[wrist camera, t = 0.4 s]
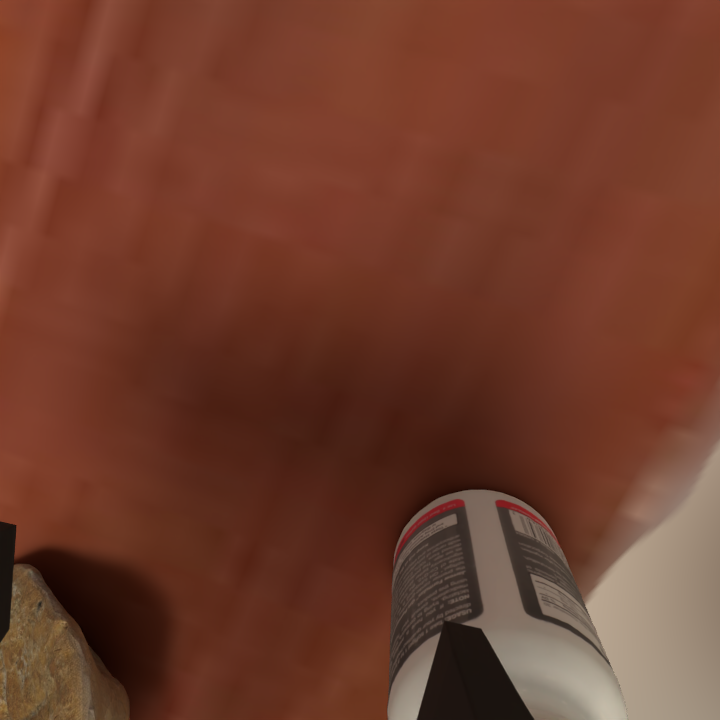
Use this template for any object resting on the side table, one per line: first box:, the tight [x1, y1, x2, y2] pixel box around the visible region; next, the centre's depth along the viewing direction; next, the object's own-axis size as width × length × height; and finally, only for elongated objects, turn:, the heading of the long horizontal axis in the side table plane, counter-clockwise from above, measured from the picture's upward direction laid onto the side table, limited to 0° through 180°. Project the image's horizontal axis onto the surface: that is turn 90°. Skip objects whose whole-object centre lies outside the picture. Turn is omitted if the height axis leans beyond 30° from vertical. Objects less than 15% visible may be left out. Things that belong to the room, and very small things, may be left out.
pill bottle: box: [387, 490, 628, 720], centre depth 17 cm, size 5×5×10 cm
